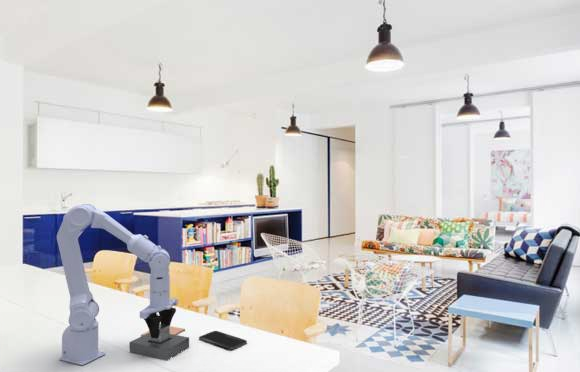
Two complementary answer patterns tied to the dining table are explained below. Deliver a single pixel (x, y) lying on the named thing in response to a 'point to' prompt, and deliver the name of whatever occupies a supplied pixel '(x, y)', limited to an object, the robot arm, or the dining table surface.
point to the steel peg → (161, 334)
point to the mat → (172, 331)
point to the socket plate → (159, 346)
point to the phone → (223, 340)
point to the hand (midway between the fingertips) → (159, 335)
